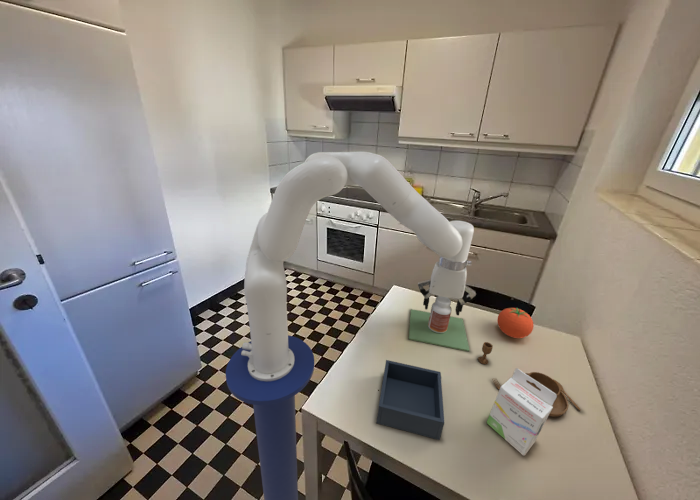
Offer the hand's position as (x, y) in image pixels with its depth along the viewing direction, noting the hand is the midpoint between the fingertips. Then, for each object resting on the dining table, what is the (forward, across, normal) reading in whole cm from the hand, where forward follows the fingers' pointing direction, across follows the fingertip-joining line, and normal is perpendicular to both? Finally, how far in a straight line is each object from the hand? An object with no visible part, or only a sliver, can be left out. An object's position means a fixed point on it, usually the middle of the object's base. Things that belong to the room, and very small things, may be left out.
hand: (441, 310), depth 90 cm
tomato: (+8, -24, -5) cm, 26 cm away
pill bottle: (+7, 0, 0) cm, 7 cm away
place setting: (+8, -22, +16) cm, 28 cm away
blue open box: (+8, +8, +31) cm, 33 cm away
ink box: (+8, -14, +32) cm, 36 cm away
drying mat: (+8, 0, 0) cm, 8 cm away
